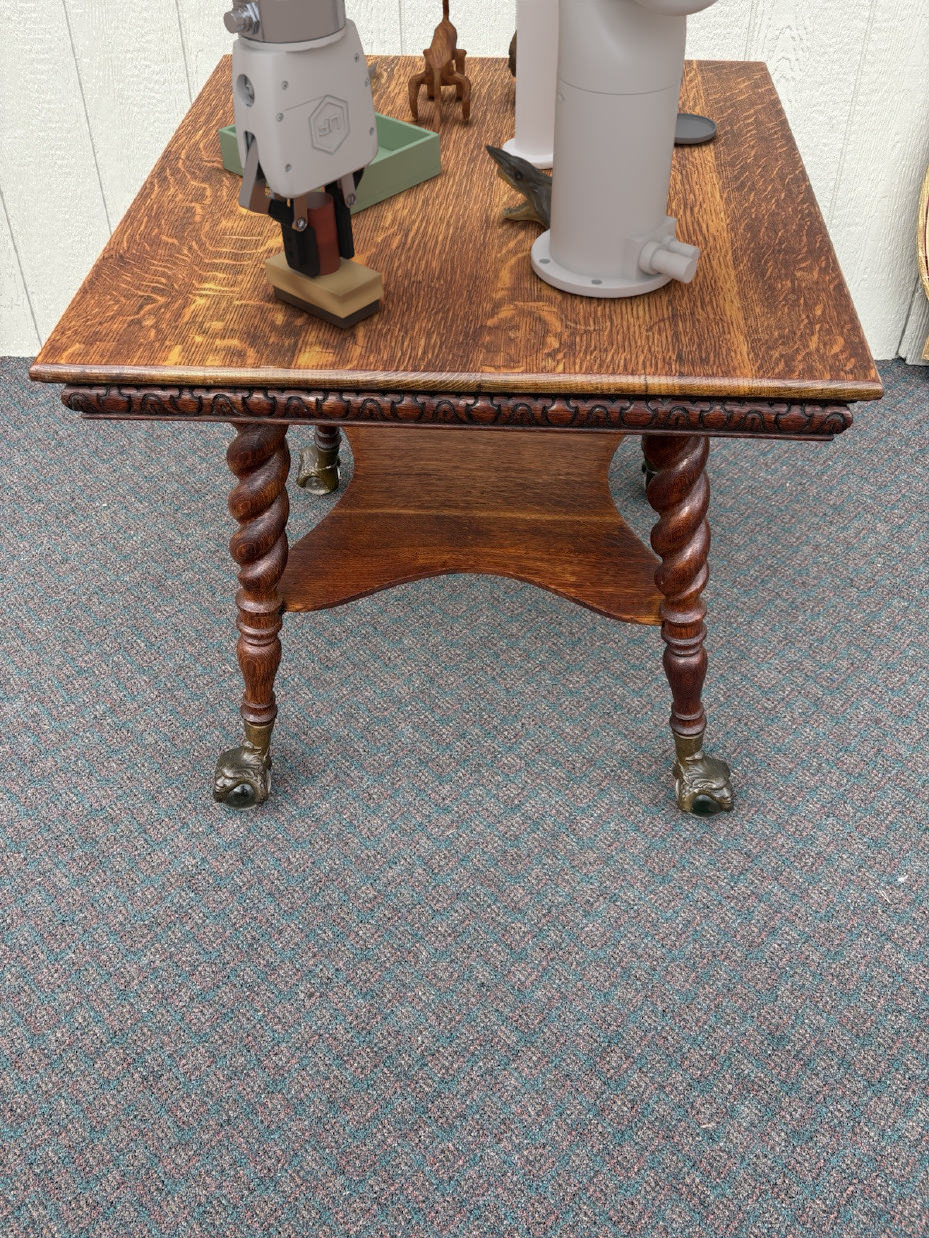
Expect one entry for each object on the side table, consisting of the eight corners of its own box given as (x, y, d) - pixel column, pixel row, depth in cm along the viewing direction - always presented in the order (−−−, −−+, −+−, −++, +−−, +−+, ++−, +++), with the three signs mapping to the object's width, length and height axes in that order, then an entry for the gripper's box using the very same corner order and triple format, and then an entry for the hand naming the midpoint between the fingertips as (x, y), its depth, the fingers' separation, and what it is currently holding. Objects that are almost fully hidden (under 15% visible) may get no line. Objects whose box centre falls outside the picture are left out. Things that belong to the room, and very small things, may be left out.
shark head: (480, 235, 102) (479, 159, 97) (489, 204, 106) (490, 130, 102) (569, 240, 101) (573, 164, 96) (575, 208, 105) (579, 134, 101)
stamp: (385, 310, 92) (376, 205, 86) (344, 332, 89) (332, 227, 83) (309, 276, 96) (296, 174, 90) (269, 296, 94) (252, 193, 88)
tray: (441, 173, 111) (440, 134, 109) (343, 219, 105) (339, 178, 102) (321, 129, 120) (318, 91, 117) (223, 168, 113) (217, 129, 110)
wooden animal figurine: (466, 152, 115) (465, 4, 105) (401, 151, 115) (394, 3, 106) (478, 88, 128) (477, -50, 118) (419, 87, 128) (414, -50, 119)
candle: (561, 174, 111) (575, -127, 94) (492, 165, 113) (494, -132, 95) (580, 146, 116) (597, -145, 98) (513, 138, 117) (518, -150, 100)
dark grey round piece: (714, 150, 115) (729, 43, 108) (630, 144, 116) (639, 39, 109) (717, 119, 120) (732, 16, 113) (638, 114, 122) (647, 12, 115)
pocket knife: (351, 116, 123) (349, 97, 121) (343, 115, 123) (341, 96, 121) (382, 71, 132) (381, 53, 131) (374, 71, 132) (373, 53, 131)
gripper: (232, 56, 71) (274, 319, 84) (413, -9, 80) (426, 239, 93) (159, 32, 75) (210, 287, 88) (339, -28, 84) (362, 213, 96)
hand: (321, 260), depth 90 cm, fingers closed on stamp, 3 cm apart
